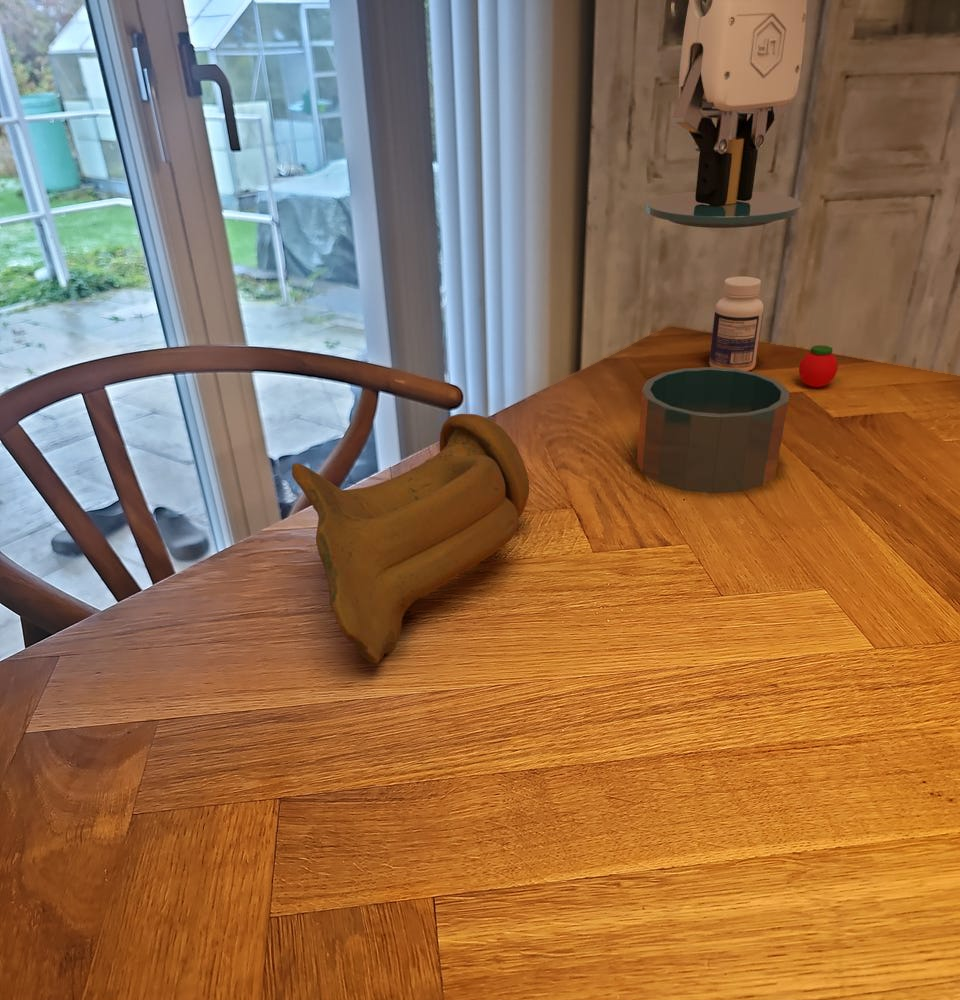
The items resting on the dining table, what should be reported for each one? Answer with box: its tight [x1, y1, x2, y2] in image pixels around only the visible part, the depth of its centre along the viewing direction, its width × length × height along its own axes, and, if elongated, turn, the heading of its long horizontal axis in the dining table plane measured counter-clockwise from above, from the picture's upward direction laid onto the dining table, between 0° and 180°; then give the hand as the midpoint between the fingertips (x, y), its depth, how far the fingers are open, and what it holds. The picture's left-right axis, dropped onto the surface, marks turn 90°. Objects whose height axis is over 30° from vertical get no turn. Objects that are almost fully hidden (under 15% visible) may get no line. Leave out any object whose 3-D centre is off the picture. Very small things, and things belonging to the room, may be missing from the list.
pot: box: [636, 366, 790, 494], centre depth 79 cm, size 12×12×8 cm
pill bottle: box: [708, 276, 765, 372], centre depth 102 cm, size 5×5×10 cm
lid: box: [645, 136, 803, 229], centre depth 77 cm, size 13×13×6 cm
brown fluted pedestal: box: [291, 413, 530, 664], centre depth 63 cm, size 18×13×22 cm
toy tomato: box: [798, 344, 839, 388], centre depth 97 cm, size 4×4×4 cm
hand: (723, 199), depth 78 cm, fingers closed on lid, 2 cm apart
